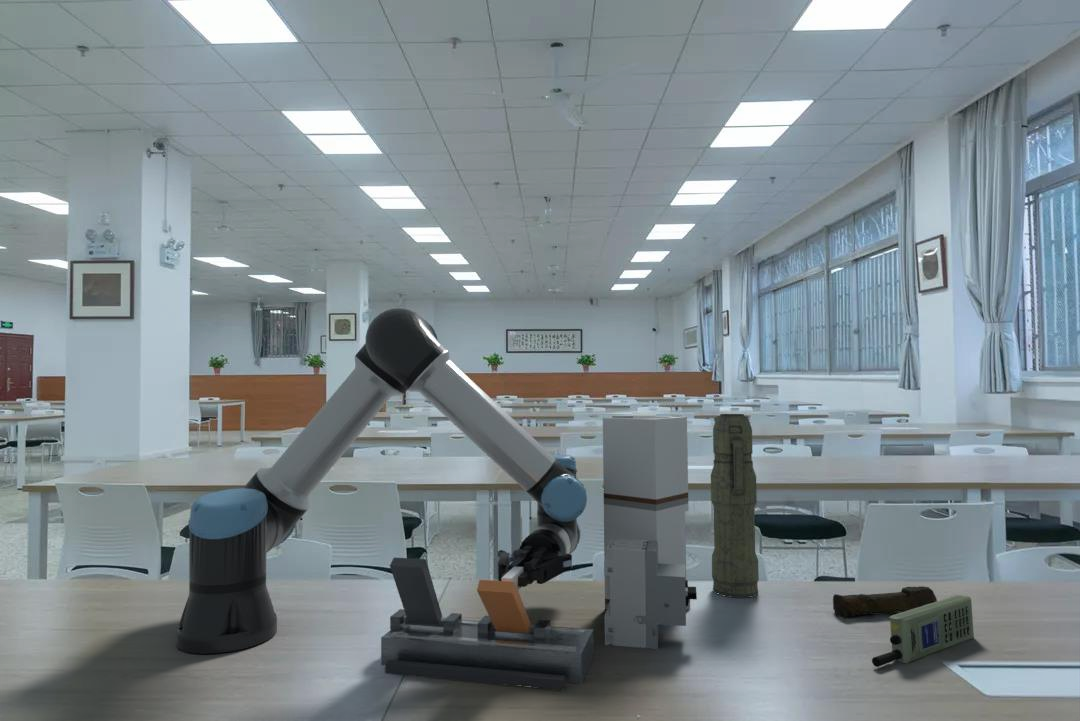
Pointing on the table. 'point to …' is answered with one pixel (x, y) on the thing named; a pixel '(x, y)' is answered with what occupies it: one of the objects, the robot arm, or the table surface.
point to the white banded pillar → (646, 484)
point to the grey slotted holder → (490, 646)
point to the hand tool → (883, 601)
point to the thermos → (734, 508)
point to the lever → (504, 607)
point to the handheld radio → (928, 629)
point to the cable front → (475, 674)
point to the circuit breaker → (642, 593)
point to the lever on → (416, 592)
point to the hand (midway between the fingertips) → (506, 587)
